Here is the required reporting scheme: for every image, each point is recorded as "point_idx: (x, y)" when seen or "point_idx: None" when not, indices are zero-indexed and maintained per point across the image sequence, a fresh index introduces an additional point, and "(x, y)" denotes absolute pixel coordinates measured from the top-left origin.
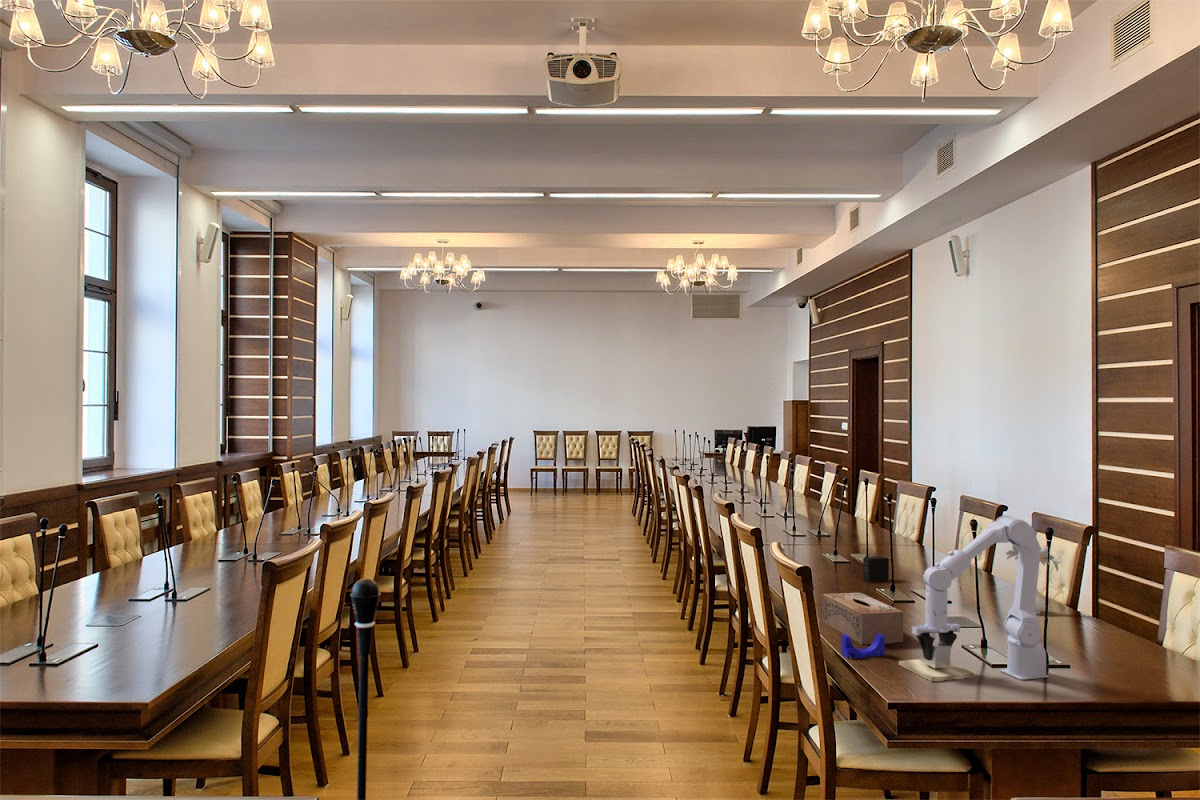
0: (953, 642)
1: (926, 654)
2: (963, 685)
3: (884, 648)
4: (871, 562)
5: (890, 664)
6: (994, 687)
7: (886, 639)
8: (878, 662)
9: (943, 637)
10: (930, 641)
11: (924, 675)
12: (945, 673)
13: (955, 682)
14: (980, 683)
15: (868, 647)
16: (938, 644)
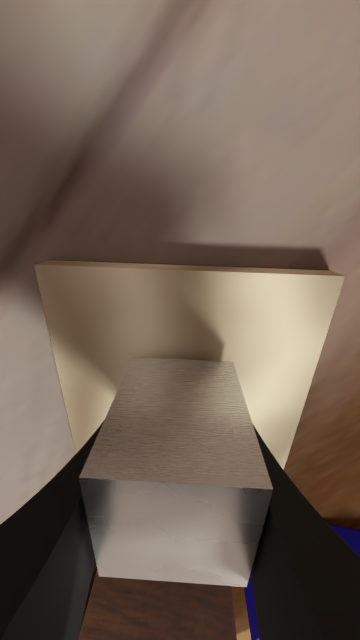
0: (10, 517)
1: None
2: (197, 163)
3: None
4: None
5: (297, 473)
6: (12, 58)
7: (149, 591)
8: (320, 494)
9: (66, 609)
10: (349, 587)
11: (322, 330)
12: (205, 309)
13: (204, 226)
14: (66, 166)
15: None
16: (179, 523)
